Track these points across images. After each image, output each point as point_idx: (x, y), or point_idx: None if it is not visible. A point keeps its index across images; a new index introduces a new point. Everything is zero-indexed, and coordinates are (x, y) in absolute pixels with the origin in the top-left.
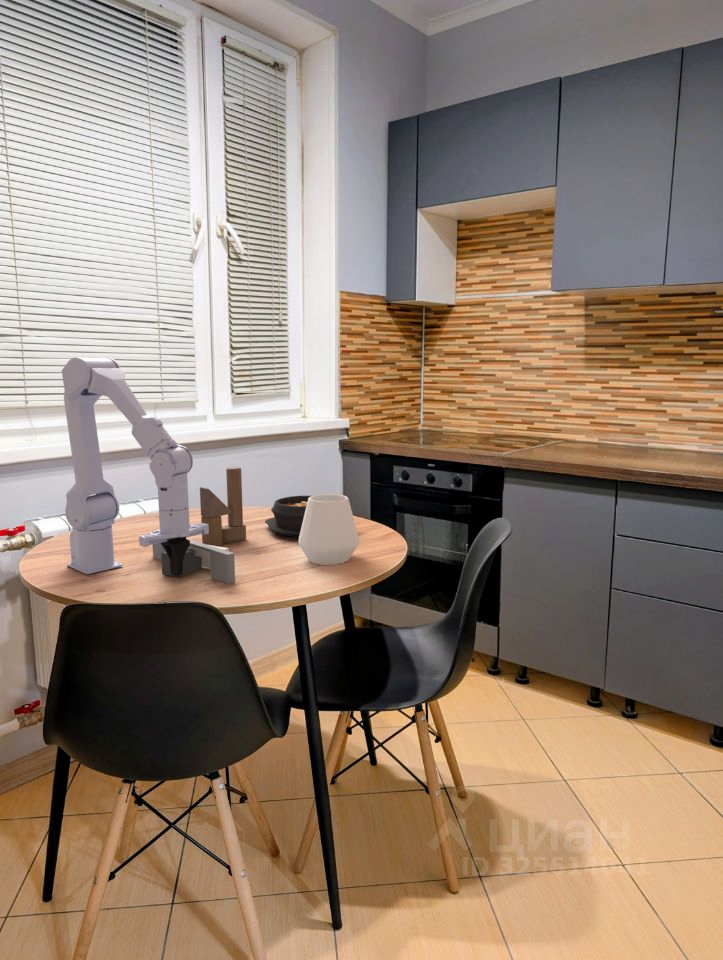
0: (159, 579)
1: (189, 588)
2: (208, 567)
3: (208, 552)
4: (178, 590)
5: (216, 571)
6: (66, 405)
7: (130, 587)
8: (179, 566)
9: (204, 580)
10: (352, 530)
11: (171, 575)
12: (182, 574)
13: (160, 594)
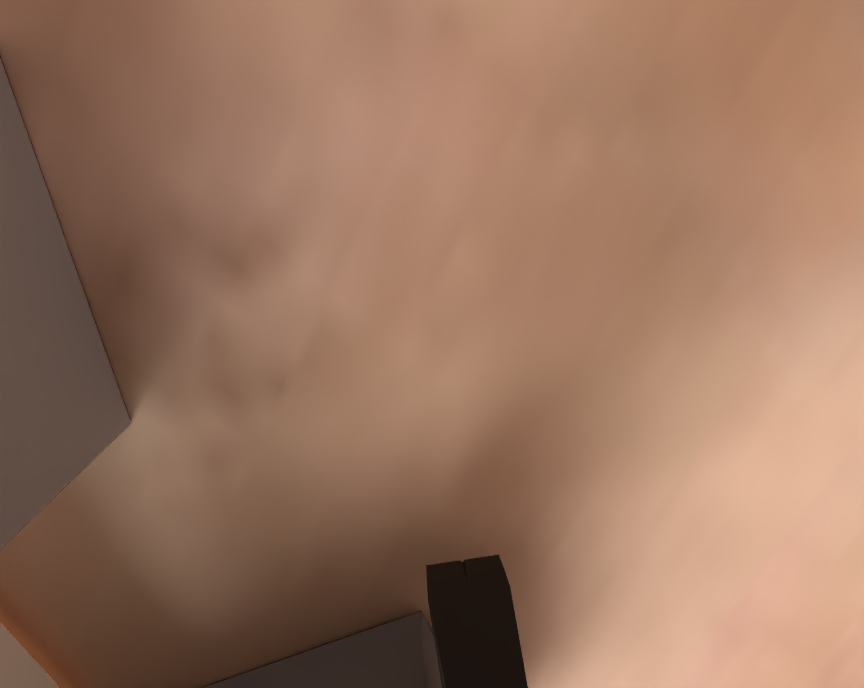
0: (573, 649)
1: (497, 233)
2: (49, 685)
3: None
4: (624, 249)
5: (14, 347)
6: None
7: (857, 594)
8: (493, 640)
9: (230, 389)
10: None
11: None
12: (366, 640)
13: (828, 250)
